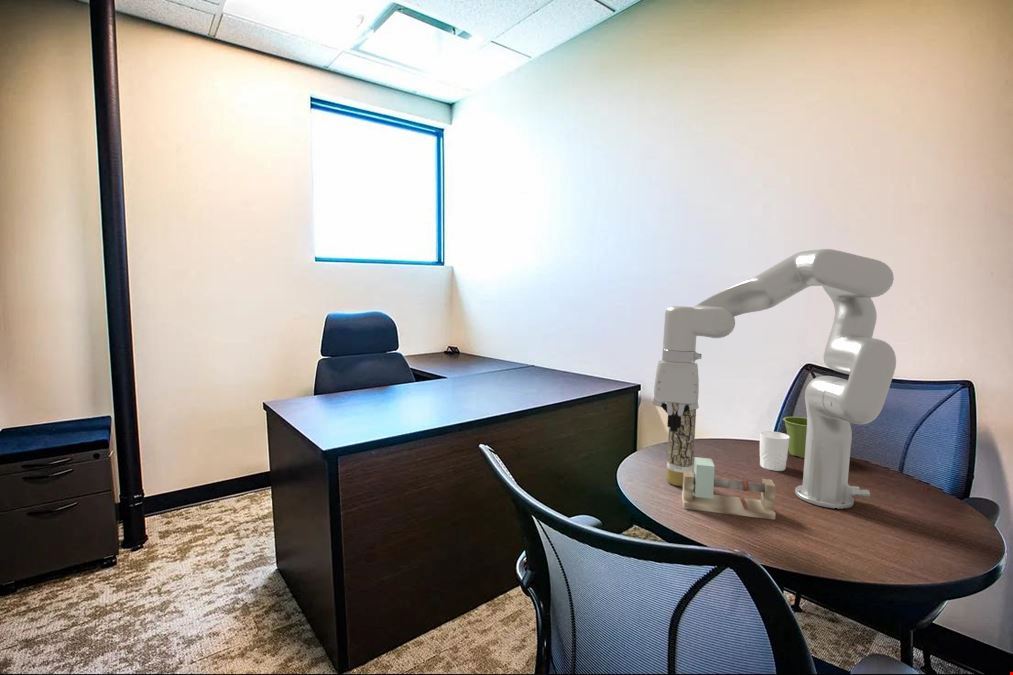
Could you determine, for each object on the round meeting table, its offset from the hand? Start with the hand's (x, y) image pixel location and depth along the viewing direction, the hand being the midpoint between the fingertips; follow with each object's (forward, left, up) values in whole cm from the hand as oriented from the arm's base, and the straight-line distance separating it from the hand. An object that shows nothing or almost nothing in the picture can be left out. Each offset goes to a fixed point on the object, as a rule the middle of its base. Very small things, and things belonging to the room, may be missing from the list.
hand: (673, 430), depth 121 cm
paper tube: (-3, -13, -19) cm, 23 cm away
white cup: (-31, -34, -19) cm, 50 cm away
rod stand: (-13, 0, -18) cm, 22 cm away
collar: (-7, 0, -15) cm, 17 cm away
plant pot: (-43, -49, -19) cm, 68 cm away
